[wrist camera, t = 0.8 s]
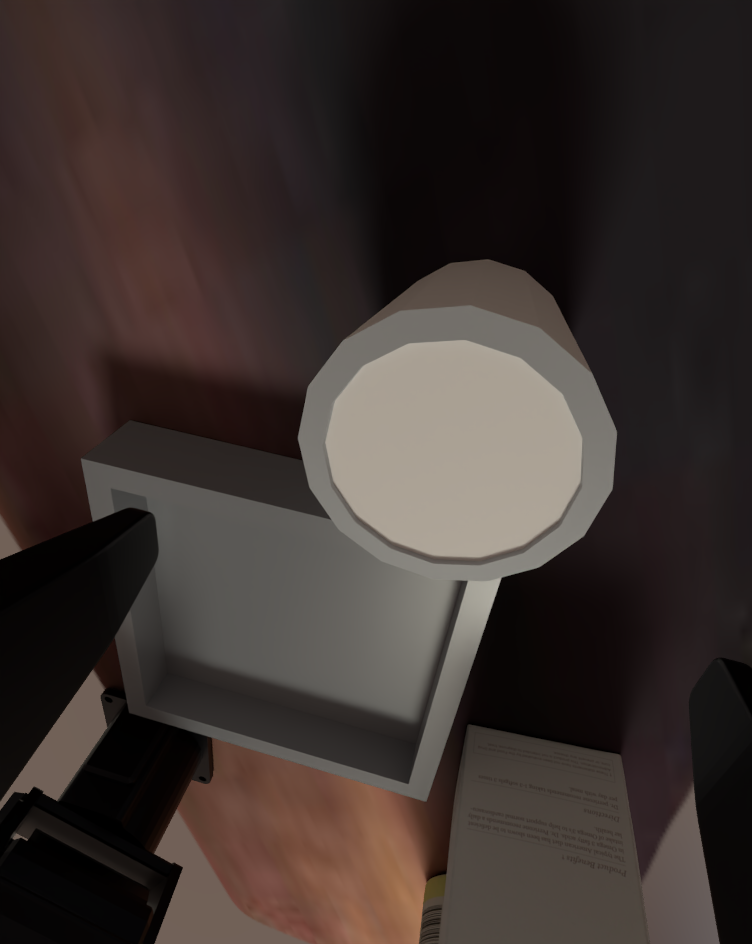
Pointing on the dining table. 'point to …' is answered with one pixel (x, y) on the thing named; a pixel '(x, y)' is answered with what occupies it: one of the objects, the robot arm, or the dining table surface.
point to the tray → (281, 615)
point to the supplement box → (540, 846)
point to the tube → (432, 910)
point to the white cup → (460, 428)
